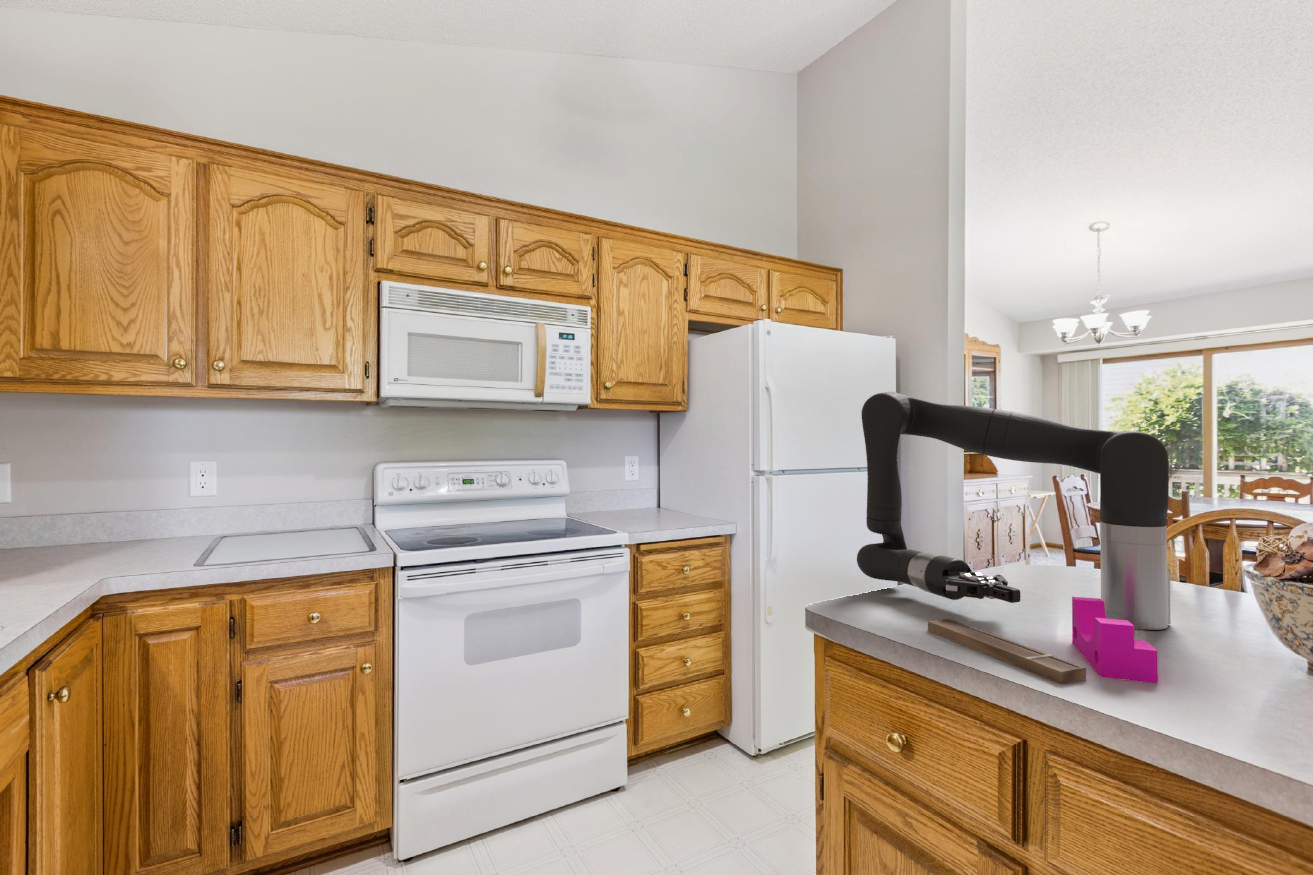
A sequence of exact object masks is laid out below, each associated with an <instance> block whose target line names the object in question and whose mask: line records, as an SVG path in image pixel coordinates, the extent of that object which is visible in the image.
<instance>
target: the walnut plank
mask: <svg viewBox="0 0 1313 875" xmlns="http://www.w3.org/2000/svg"><path fill="white" fill-rule="evenodd" d="M927 631H928V632H930V633H933V634H935V635H938V636H940V637H941V638H942V637H943V638H944V639H947V640H950V641H953V642H955V643H957V644H960V645H963V646H965V647H968V648H970V649H973V650H975V651H977V652H979V653H982V654H985V655H987V656H990V657H991V658H995V659H998V660H1000V661H1002V662H1005V663H1008V664H1010V665H1013V666H1014V667H1018V668H1020V669H1022V670H1025V671H1027V672H1030V673H1032V674H1035V675H1038V676H1040V677H1042V678H1045V679H1047V680H1050V681H1052V682H1055V683H1057V684H1060V685H1063V684H1069V683H1075V682H1081V681H1087V667H1085V666H1083V665H1080V664H1078V663H1074V662H1071V661H1069V660H1066V659H1062V658H1060V657H1058V656H1055V655H1054V654H1051V653H1046V652H1043V651H1040V650H1038V649H1035V648H1032V647H1030V646H1026V645H1025V644H1021V643H1019V642H1016V641H1013V640H1010V639H1007V638H1005V637H1001V636H999V635H996V634H993V633H990V632H988V631H984V630H982V629H979V628H976V627H974V626H972V625H969V624H966V623H962V622H961V621H957V620H954V619H951V618H943V619H936V620H935V619H934V620H928V621H927Z"/></svg>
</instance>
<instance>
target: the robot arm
mask: <svg viewBox="0 0 1313 875" xmlns="http://www.w3.org/2000/svg"><path fill="white" fill-rule="evenodd" d="M861 408H862V409H861V412H860V413H861V423H862V424H861V425H862V429H863V437H864V446H865V453H866V454H865V455H866V469H867V473H866V475H867V488H866V489H867V494H866V495H867V496H866V528H867V529H868V530H869V531H870V532H871V533H874V534H878V535H881V536H882V539H883V540H882V542H877V543H869V544H866V545H863V546H862V547H861V548H860V549H859V550H858V551H857V555H856V564H857V567H858V568H859V570H860V571H861V572H862V573H863V574H864V575H865V576H867V577H869V578H871V579H875V580H881V581H888V582H899V583H903V584H906V585H908V586H912V587H916V588H918V589H920V590H922V591H924V592H927V593H929V594H933V595H936V596H939V597H942V598H946V599H949V600H953V601H956V600H958V601H959V600H962V598H971V599H972V598H973V599H978V600H982V599H985V598H988V599H991V600H994V599H997V600H1001V601H1003V602H1007V603H1011V604H1014V603H1020V602H1021V590H1020V589H1019V588H1017V587H1012V586H1008V584H1009V582H1008V580H1007V579H1006V578H1005V577H1004V576H1003V575H1001V574H995V575H994V576H993V577H992V576H989V575H985V574H982V573H981V572H980V571H977V570H972V569H971V567H970V565H968V563H967V562H966V561H964V560H962V559H959V558H954V557H951V556H947V555H942V554H937V553H932V552H931V553H930V552H923V551H919V550H915V549H908V548H907V544H906V539H905V536H904V535H905V534H904V530H903V527H902V506H903V505H902V504H903V503H902V502H903V500H902V498H903V496H902V485H901V480H900V474H899V468H898V467H899V464H898V449H899V441H900V437H901V435H906V436H907V435H908V436H917V437H924V438H925V437H926V438H929V439H930V438H931V439H935V440H938V441H941V442H944V443H946V444H950V445H952V446H954V447H957V448H959V449H963V450H965V451H968V452H972V453H975V454H978V455H983V456H988V457H992V458H997V459H1003V460H1010V461H1017V462H1025V463H1035V464H1036V463H1037V464H1050V465H1052V464H1053V465H1061V466H1069V467H1073V468H1077V469H1080V470H1085V471H1088V472H1093V473H1096V474H1099V476H1100V477H1099V480H1100V481H1099V482H1100V484H1099V486H1100V487H1099V488H1100V491H1099V492H1100V496H1099V497H1100V498H1099V524H1100V525H1099V528H1100V530H1099V532H1100V533H1099V534H1100V538H1099V539H1100V540H1099V541H1100V542H1099V543H1100V548H1099V549H1100V599H1102V600H1103V601H1104V603H1105V614H1106V619H1117V620H1128V621H1129V622H1130V623H1131V624H1133V625H1134V629H1138V630H1149V631H1150V630H1152V631H1153V630H1164V629H1165V630H1166V629H1167V628H1168V627H1169V625H1171V621H1172V620H1171V617H1172V616H1171V570H1170V568H1168V512H1169V501H1170V500H1169V496H1170V495H1169V490H1170V488H1169V480H1170V479H1169V477H1170V475H1169V474H1170V471H1169V470H1170V469H1169V466H1170V465H1169V463H1170V462H1169V454H1168V450H1167V448H1166V446H1165V444H1164V443H1163V442H1161V441H1160V439H1158V438H1157V437H1155V435H1151V434H1150V433H1147V432H1144V431H1137V430H1136V431H1135V430H1134V431H1133V430H1130V431H1119V430H1117V431H1116V430H1115V431H1114V430H1104V429H1103V430H1102V429H1090V428H1081V427H1075V426H1070V425H1066V424H1063V423H1060V422H1056V421H1053V420H1049V419H1047V418H1046V419H1045V418H1042V417H1039V416H1034V415H1030V414H1026V413H1021V412H1017V411H1012V410H1011V411H1010V410H1003V409H998V408H990V407H985V406H984V407H982V406H974V405H973V406H971V405H958V404H943V403H938V402H937V403H936V402H932V401H929V400H924V399H920V398H917V397H913V396H909V395H906V394H902V393H899V392H896V391H895V392H894V391H887V392H880V393H876V394H873V395H871V396H869V397H868V398H867V400H865V402H864V404H863V405H862V407H861Z"/></svg>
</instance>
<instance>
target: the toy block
mask: <svg viewBox="0 0 1313 875" xmlns="http://www.w3.org/2000/svg"><path fill="white" fill-rule="evenodd" d="M1071 612H1072V613H1071V614H1072V615H1071V618H1072V619H1071V620H1072V621H1071V623H1072V624H1071V626H1072V628H1071V629H1072V630H1071V631H1072V633H1071V634H1072V635H1071V636H1072V638H1071V641H1072V645H1073V646H1074V647H1075V648H1076V649H1077V650H1078V652H1079V653H1080V654H1081V655H1082V656H1083V658H1085V660H1086V661H1087V662H1088V663H1089V665H1090V666H1091V667H1092V668H1093V669H1094V671H1095V672H1096V673H1097V675H1098V676H1099V677H1100V678H1104V679H1105V678H1107V679H1114V680H1125V681H1132V682H1133V681H1134V682H1142V683H1149V684H1158V682H1159V675H1158V674H1159V673H1158V672H1159V669H1158V668H1159V666H1158V665H1159V664H1158V659H1159V658H1158V650H1157V649H1156V647H1154V646H1152V644H1150V643H1149V642H1148V641H1147V640H1135V628H1134V625H1133V624H1131V623H1130V622H1129V621H1128V620H1117V619H1106V614H1105V603H1104V601H1103V600H1102V599H1101V598H1095V597H1081V596H1071Z"/></svg>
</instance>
